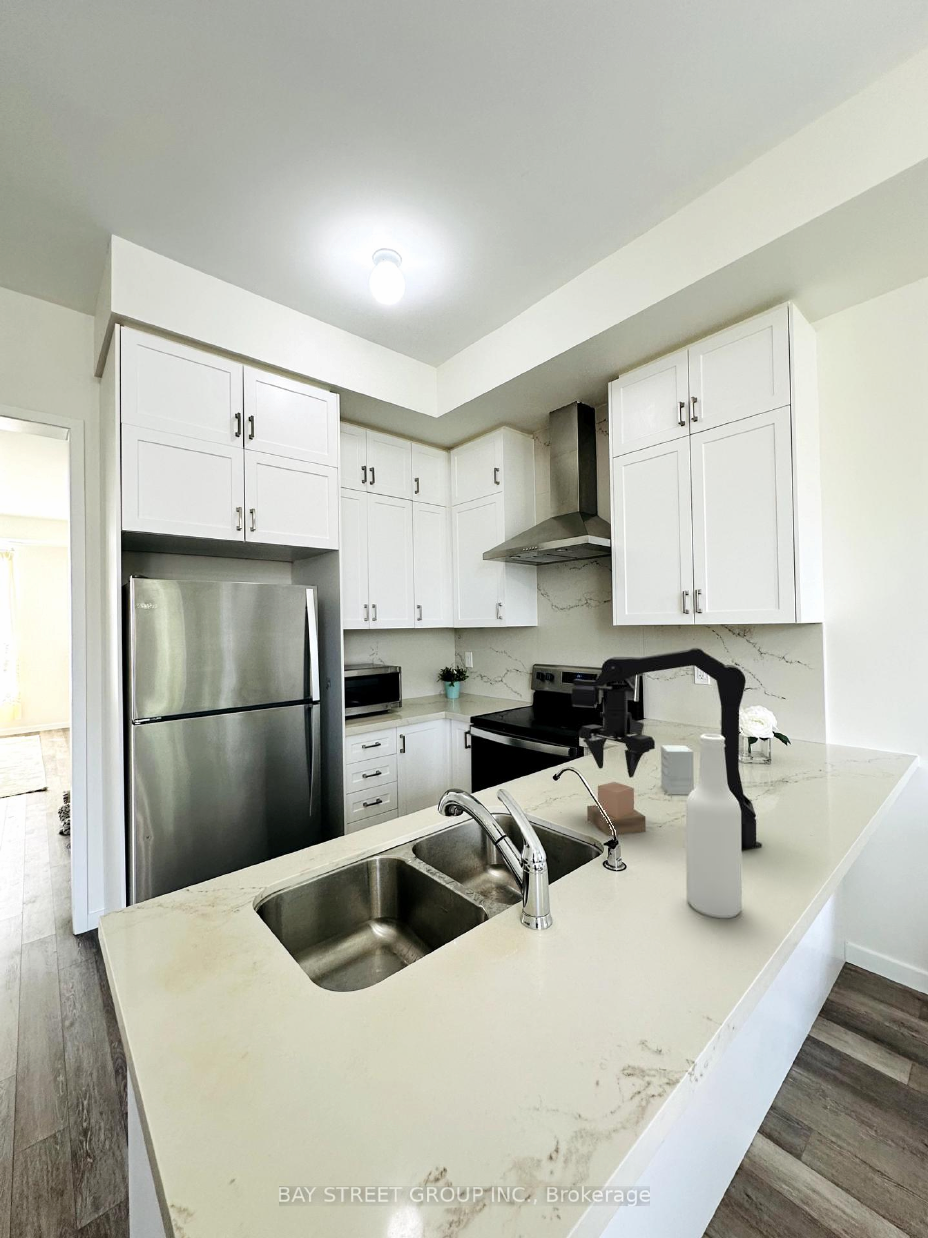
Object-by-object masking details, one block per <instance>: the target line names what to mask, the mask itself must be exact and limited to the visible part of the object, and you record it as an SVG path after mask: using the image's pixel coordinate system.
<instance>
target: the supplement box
mask: <svg viewBox="0 0 928 1238" xmlns="http://www.w3.org/2000/svg"><path fill="white" fill-rule="evenodd" d="M660 773H661V775H660V776H661V777H660V778H661V779H660V785H661V788H662V789H663V790H664V791H665V792H666V794H668V795H680V796H681V795H682V796H683V795H687V796H688V795H689V794H690V793H691V791H692V790H693V789H694V788H695V785H694V784H695V783H694V782H695V780H694V779H695V778H694V751H693V750H692V749H691V748H689V747H687V745H685V744H684V745H681V744H680V745H675V744H672V745H671V744H670V745H669V744H668V745H667V744H663V745H662V744H661V745H660Z"/></svg>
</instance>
